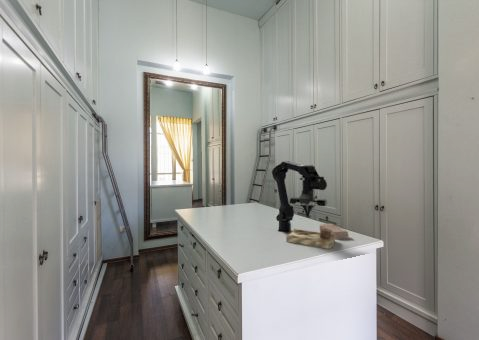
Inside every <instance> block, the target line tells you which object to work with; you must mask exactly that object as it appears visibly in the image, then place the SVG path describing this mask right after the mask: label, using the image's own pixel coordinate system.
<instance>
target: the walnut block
mask: <svg viewBox="0 0 479 340" xmlns="http://www.w3.org/2000/svg"><path fill="white" fill-rule="evenodd" d="M319 233H320V238H323V239H329V238H330V237H331V229H324V228H322V229H321V230H320V229H319Z"/></svg>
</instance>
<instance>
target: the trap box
mask: <svg viewBox="0 0 479 340" xmlns="http://www.w3.org/2000/svg"><path fill="white" fill-rule="evenodd" d="M285 240H286V241H285V242H288V243H295V244H299V245H303V246H304V245H305V246H311V247H317V248H322V249H329V250H330V249H331V248H332V247H333V245H334V243H335V242H336V239H335V233H333V234H331V237H330V238H329V239H323V238H320V231H319V232H318V231H313V230H312V231H311V230H303V229H297V228H293V231H292V232H290V233H289V234H286V235H285Z"/></svg>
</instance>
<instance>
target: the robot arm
mask: <svg viewBox="0 0 479 340" xmlns="http://www.w3.org/2000/svg"><path fill="white" fill-rule="evenodd" d="M289 170H291V171H295V172H297V173H298V174H299V175H301V177H300V178H299V180H300V181H302V190H301V194H300V196H299V197H295V196H293V197H290V198H288V197H289V196H288V192H287V187H286V181H285V180H286V179H287V173H288V172H289ZM271 174H272V178H273V180H274V181H275V182H276V186H277V191H278V197H279V203H280V205H279V209H278V214H277V216H276V217H275V218H276V221H277V222H278V229H277V231H279V232H284V233H289V232H290V231H291V230H292V223H291V221H293V219H294V216H295V211H294V206H293V204H296V203H299V206H301V207H302V208H303V211H304V213H305V215H306V218H307V219H308V218H310V216H311V213H312V210H313V209H314V207H315V206H316V207H317V206H320V207H326V206H327V205H328V199H325V198H319V199H317V200H316V199H315V196H314V192H315V190H316V191H317V190H318V191H325V190H326V189H327V186H328V183H327V180H325V177H324V176H320V175H319V173H318V172H317V169H316V167H315V166H314V165H313V164H311V165H310V164H309V165H304V164H298V163H295V162H291V161H289V160H286V161H285V160H284V161H283V160H282V162H280V163H279V164H278V165H276V166H274V168H272V171H271ZM291 204H292V205H291Z"/></svg>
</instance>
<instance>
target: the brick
mask: <svg viewBox="0 0 479 340" xmlns="http://www.w3.org/2000/svg"><path fill="white" fill-rule="evenodd" d="M322 228H324V229H331V234H333V233H335V240H344V239H345V240H348V239H349V231H348V230H346V229H343V228H340V227H339V226H336V225H335V224H333V223H325V224H319V231H320V230H321V229H322Z"/></svg>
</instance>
